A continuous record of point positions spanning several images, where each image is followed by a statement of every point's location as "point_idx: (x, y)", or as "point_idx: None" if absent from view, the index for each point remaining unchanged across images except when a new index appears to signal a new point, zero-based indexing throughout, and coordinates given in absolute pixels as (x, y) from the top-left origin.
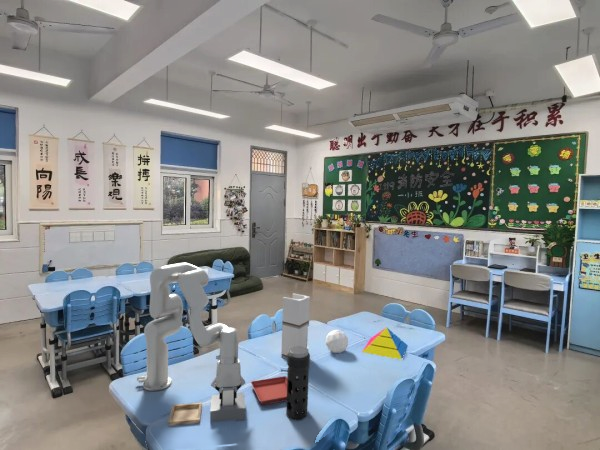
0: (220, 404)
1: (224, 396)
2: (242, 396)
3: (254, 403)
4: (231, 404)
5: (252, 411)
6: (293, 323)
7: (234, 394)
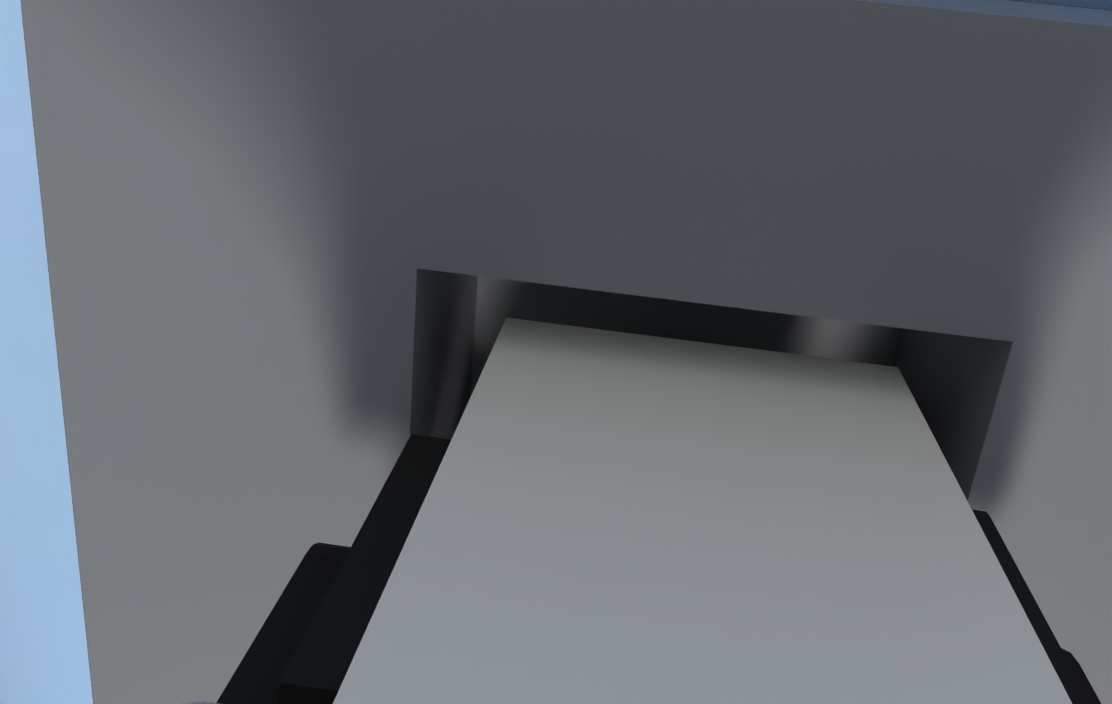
0: (991, 448)
1: (924, 598)
2: (154, 678)
3: (5, 555)
4: (566, 350)
5: (41, 263)
6: None
7: (350, 608)
